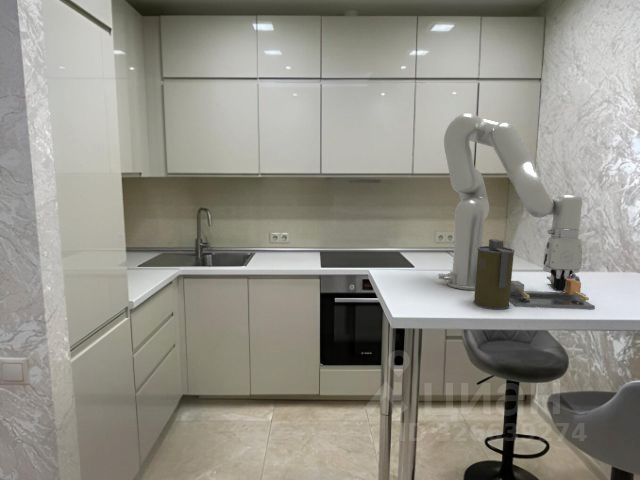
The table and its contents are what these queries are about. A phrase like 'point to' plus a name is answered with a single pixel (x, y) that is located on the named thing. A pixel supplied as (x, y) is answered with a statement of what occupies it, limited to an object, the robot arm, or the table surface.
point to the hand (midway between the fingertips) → (558, 289)
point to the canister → (493, 275)
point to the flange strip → (551, 303)
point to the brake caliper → (567, 278)
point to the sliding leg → (574, 289)
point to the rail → (547, 295)
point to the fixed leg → (518, 289)
